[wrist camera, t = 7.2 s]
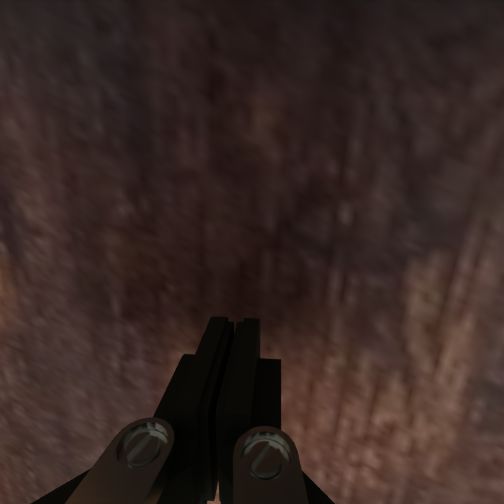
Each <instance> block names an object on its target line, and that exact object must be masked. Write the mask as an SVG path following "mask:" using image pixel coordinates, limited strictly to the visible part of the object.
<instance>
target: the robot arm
mask: <svg viewBox="0 0 504 504" xmlns="http://www.w3.org/2000/svg"><path fill="white" fill-rule="evenodd" d="M218 481H219V500H220V502H221V504H335V503H334V502H333V501H332V500H331V499H330V498H329V497H328V496H327V495H326V494H325V493H324V492H323V491H322V490H321V489H320V488H319V487H318V486H317V485H316V484H315V483H314V482H313V481H312V480H311V479H310V478H309V477H308V476H307V475H306V474H305V473H304V472H303V471H302V469H301V465H300V460H299V455H298V451H297V449H296V446H295V443H294V442H293V441H292V439H291V438H290V437H289V435H287V434H286V433H284V432H283V431H282V430H281V359H264V358H260V319H256V318H244V320H243V322H238V323H237V326H236V330H235V334H234V323H233V322H228V318H227V317H211V318H210V320H209V323H208V325H207V328H206V330H205V332H204V335H203V337H202V339H201V342H200V344H199V347H198V349H197V351H196V354H195V355H193V354H184V355H183V356H182V358H181V360H180V362H179V364H178V366H177V368H176V370H175V372H174V374H173V376H172V378H171V381H170V383H169V385H168V387H167V389H166V391H165V393H164V395H163V397H162V399H161V401H160V403H159V406H158V408H157V410H156V412H155V414H154V416H153V417H149V418H143V419H139V420H137V421H135V422H132V423H130V424H129V425H127V426H126V427H125V428H123V429H122V430H121V431H120V432H119V433H118V434H117V435H116V436H115V438H114V439H113V440H112V442H111V443H110V444H109V446H108V447H107V448H106V449H105V451H104V452H103V453H102V455H101V456H100V457H99V459H98V460H97V461H96V463H95V464H94V465H93V467H92V468H91V469H89V470H87V471H86V472H84V473H82V474H81V475H79V476H77V477H75V478H74V479H72V480H70V481H69V482H67V483H65V484H63V485H62V486H60V487H58V488H57V489H55V490H53V491H52V492H50V493H48V494H46V495H45V496H43V497H41V498H40V499H38V500H36V501H34V502H33V503H31V504H207V501H214V499H215V495H216V490H217V485H218Z"/></svg>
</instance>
